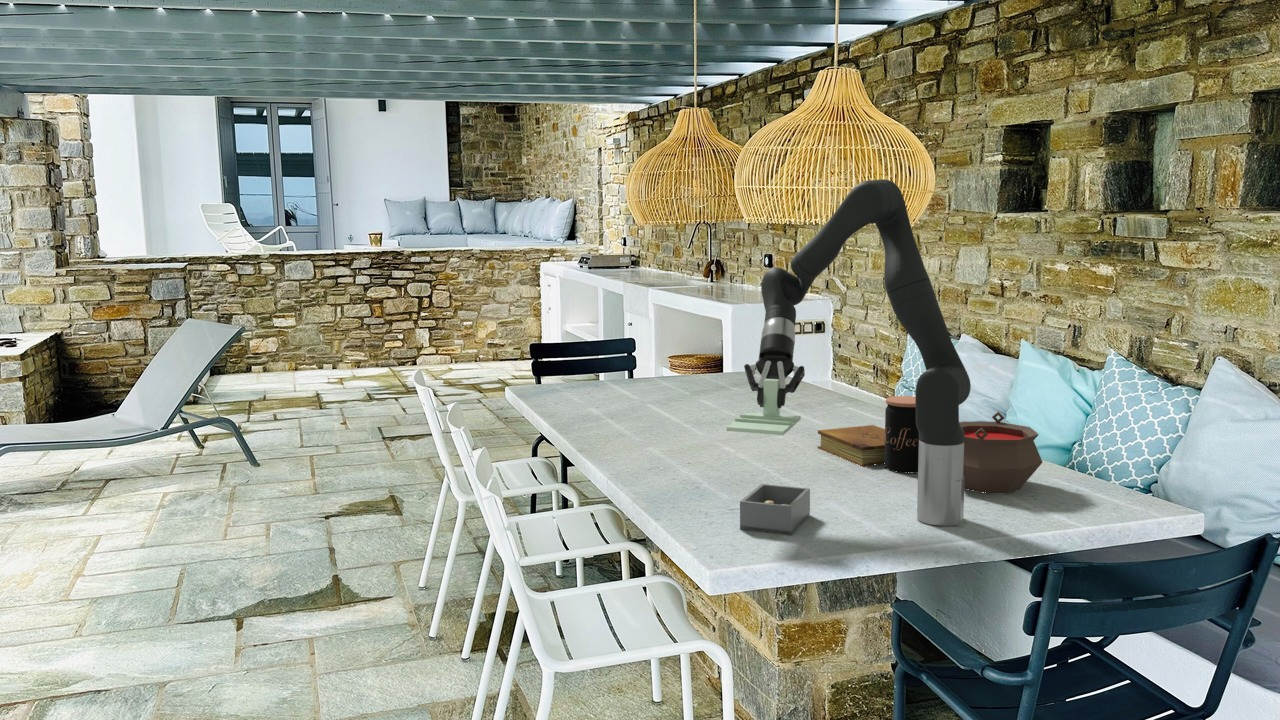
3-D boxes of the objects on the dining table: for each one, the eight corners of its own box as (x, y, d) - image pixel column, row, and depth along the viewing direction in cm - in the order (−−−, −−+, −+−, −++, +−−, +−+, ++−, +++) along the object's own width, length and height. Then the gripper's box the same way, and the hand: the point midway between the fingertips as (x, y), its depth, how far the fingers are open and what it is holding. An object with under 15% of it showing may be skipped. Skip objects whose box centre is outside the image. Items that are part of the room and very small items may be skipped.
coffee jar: (876, 469, 259) (877, 400, 257) (898, 461, 267) (899, 394, 264) (913, 476, 252) (914, 405, 249) (935, 468, 259) (936, 399, 257)
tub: (809, 515, 220) (810, 488, 220) (791, 535, 207) (791, 506, 206) (761, 510, 225) (761, 483, 224) (740, 529, 211) (739, 501, 210)
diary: (922, 462, 268) (923, 441, 267) (861, 469, 262) (862, 447, 261) (875, 443, 290) (875, 424, 289) (817, 449, 284) (817, 429, 283)
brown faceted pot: (1033, 505, 225) (1036, 433, 223) (925, 492, 237) (926, 424, 235) (1048, 480, 246) (1051, 414, 244) (948, 469, 258) (949, 406, 256)
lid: (800, 419, 220) (801, 379, 219) (783, 435, 205) (783, 392, 204) (747, 415, 224) (747, 376, 223) (726, 430, 210) (726, 389, 208)
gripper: (744, 331, 226) (736, 394, 217) (808, 332, 223) (802, 397, 213) (748, 351, 232) (739, 413, 223) (809, 353, 229) (804, 416, 219)
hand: (770, 405), depth 218 cm, fingers closed on lid, 3 cm apart
